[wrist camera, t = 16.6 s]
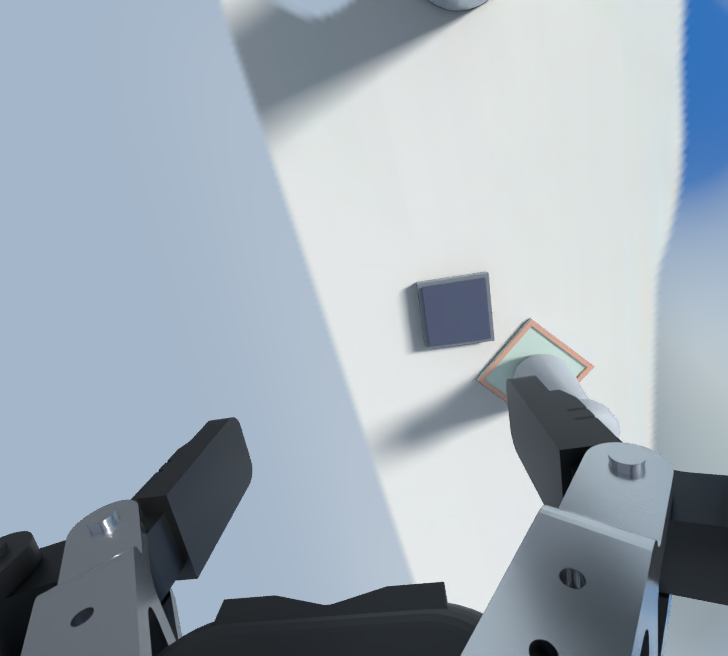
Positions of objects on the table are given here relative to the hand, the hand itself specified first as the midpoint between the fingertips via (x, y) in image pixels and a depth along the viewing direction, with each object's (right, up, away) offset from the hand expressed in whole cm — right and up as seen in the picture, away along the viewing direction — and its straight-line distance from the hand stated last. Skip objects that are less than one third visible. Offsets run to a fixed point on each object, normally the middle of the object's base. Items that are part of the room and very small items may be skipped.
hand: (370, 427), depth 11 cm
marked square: (+18, -2, +30) cm, 35 cm away
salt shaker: (+18, -2, +30) cm, 35 cm away
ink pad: (+9, +5, +29) cm, 31 cm away
